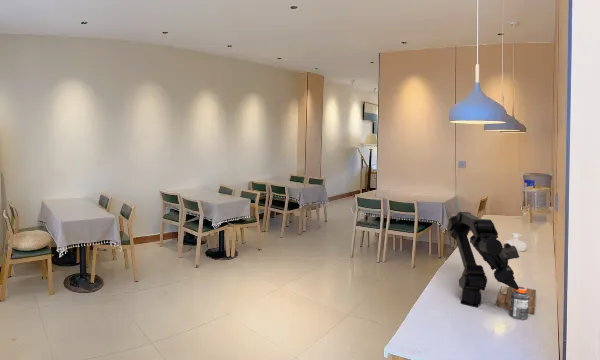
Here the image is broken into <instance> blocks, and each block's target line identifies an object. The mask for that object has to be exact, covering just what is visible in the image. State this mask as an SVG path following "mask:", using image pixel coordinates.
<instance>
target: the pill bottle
mask: <svg viewBox="0 0 600 360" xmlns="http://www.w3.org/2000/svg"><path fill="white" fill-rule="evenodd" d="M518 287H519V289H518V290H516V289H514V291H513V292H512V293H511V302H510V310H509V313H508V314H509V316H510V317H511V318H513V319H515V320H520V321H525V320H527V319H528V317H529V316H528V315H529V314H528V307H529V295H528V294H527V288H528V287H525V286H521V285H518Z"/></svg>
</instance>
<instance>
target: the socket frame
mask: <svg viewBox="0 0 600 360" xmlns="http://www.w3.org/2000/svg"><path fill="white" fill-rule="evenodd" d="M526 288H527V294H528V295H529V307H528V315H533V316H535V310H536V296H537V295H536V294H537V290H536V289H534V288H528V287H526ZM513 291H514V288H512V287H510V286H503V285H501V286H500V290H499V292H498V296H497V299H496V302H495V307H496V308H501V309H506V310H509V311H510V302H511V293H512V292H513Z"/></svg>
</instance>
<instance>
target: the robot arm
mask: <svg viewBox="0 0 600 360" xmlns="http://www.w3.org/2000/svg"><path fill="white" fill-rule="evenodd" d="M446 227H447V230H448V232H449V235H450V236H451V237H452V238H453V239H454V240H455V241H456V245H457V248H458V252H459V254H460V255H459V256H460V259H461V261H462V264H463V271H462V274H461V276H460V278H459V279H458V285H459V287H460V288H461V289H462V290H461V292H462V294H461V301H460V304H462V305H467V306H471V307H476V308H479V306H480V305H481V303H482V296H483V292H481V291H485V290H486V288H487V284H488V277H487V275H486V273H485V271H484V270H485V269H484V267H483V266H482V265H481V264H477V261H476V258H475V256H474V252H473V249H472V247H473V248H474V249H475V251H476V252H477V253H478V254H479V255H480V256H481V258H482V260H483V261H484V262H486V263H487V264H488V266H489V267H490V269H491V270H492V271H493V276H494V279H495V280H496V281H497V282H498V283H502V284H504V285H505V286H507V287H509V286H510V287H512V288H514V289H516V290H518V289H519V287H518V286H519V285H518V284H517V282H516V279H515V276H514V275H515V272H514V270H513V268H512V267H511V266H510V265H508V264H509V260H513V259H519V258H520V254H519V252H518V251H517V249H516V247H515V246H513V245H512V246H511V245H510V244H509V243H506V244H504V243H502V242H501V241H500V240H499V239H498V238H499V236H498V235H499V233H498V231H497V229H496V226H495V223H494V222H493V221H492V219H486V218H485V219H484V218H479V217H478V216H476V215H474V214H472V213H471V212H469V211H458V212H457V213H456V215H455V216H453V217H451V218H450V219H449V220H448V223H447V226H446ZM470 231H471V233H472V235H471V236H470V237H469V238H468V235H469V232H470ZM471 245H472V246H471Z"/></svg>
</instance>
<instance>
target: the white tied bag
mask: <svg viewBox="0 0 600 360" xmlns="http://www.w3.org/2000/svg"><path fill="white" fill-rule="evenodd" d="M510 236H512V238H510V239H505V240H504V241H503V245H504V244H506V243H509V244H510V245H511V246H512V245H513V246H515V247H516V249H517V252H518V253H520V252H525V251H526V249H527V247H528V243H526V242H524V241H523V240H520V238H521V237H522V234H521V233H519V232H513V233H510Z"/></svg>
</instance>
